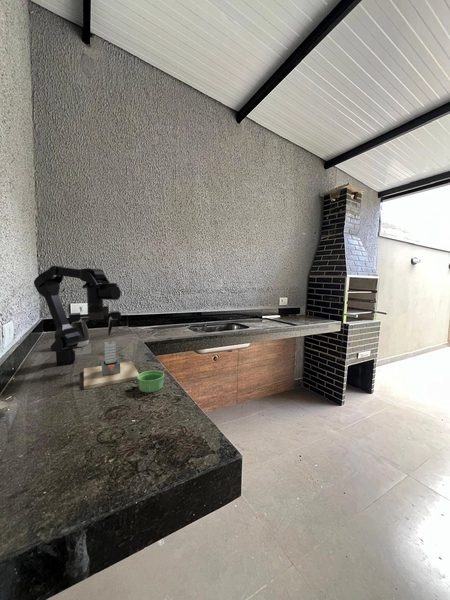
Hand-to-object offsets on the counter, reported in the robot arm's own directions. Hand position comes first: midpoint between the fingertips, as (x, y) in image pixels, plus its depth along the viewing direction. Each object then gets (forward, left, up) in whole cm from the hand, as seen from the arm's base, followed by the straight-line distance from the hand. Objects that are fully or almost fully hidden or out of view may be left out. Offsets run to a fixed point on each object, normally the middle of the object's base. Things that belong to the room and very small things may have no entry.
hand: (96, 336), depth 100 cm
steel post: (+4, -12, -8) cm, 15 cm away
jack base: (+4, -12, -13) cm, 18 cm away
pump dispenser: (-7, +39, -13) cm, 42 cm away
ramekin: (+15, -30, -13) cm, 36 cm away
